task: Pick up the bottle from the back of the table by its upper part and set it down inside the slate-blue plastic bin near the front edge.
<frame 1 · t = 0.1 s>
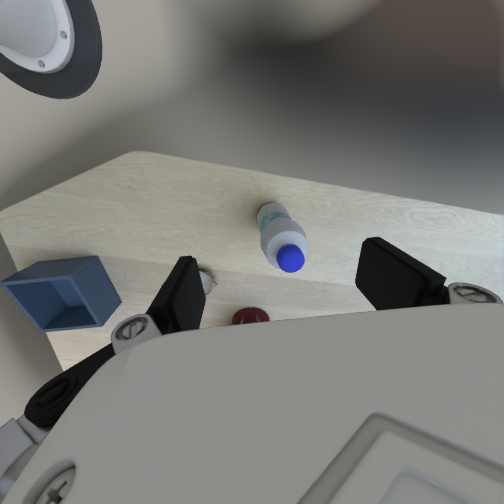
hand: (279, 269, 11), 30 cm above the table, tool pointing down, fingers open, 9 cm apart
seashell: (200, 278, 47), on the table
bottle: (271, 215, 41), on the table
lantern: (251, 320, 55), on the table
bin: (82, 283, 46), on the table
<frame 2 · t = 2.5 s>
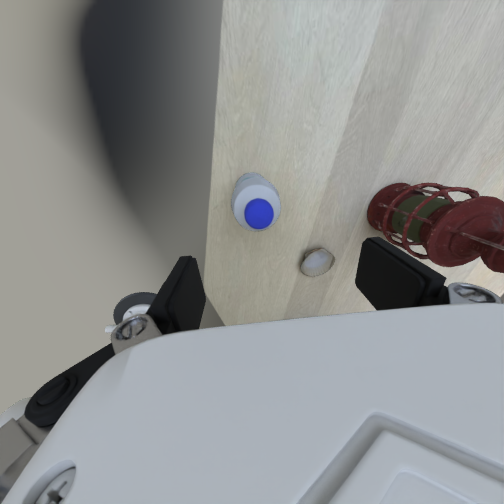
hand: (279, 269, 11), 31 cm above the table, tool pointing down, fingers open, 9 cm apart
seashell: (314, 259, 47), on the table
bottle: (251, 188, 39), on the table
lantern: (390, 207, 42), on the table
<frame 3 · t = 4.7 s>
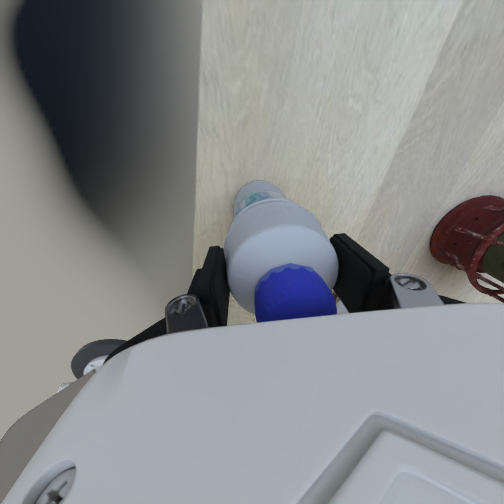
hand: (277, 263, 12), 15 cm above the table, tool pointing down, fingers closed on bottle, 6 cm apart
seashell: (346, 299, 33), on the table
bottle: (258, 204, 25), on the table, touching gripper
lantern: (465, 231, 28), on the table
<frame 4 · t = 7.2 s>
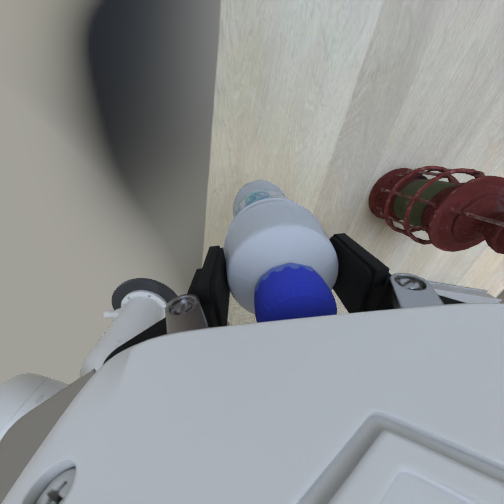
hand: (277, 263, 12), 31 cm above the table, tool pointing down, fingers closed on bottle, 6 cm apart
book: (429, 308, 57), on the table
bottle: (258, 203, 25), point 16 cm above the table, touching gripper
lantern: (393, 194, 41), on the table
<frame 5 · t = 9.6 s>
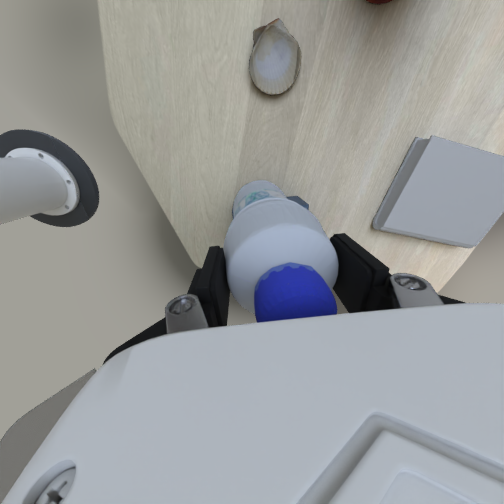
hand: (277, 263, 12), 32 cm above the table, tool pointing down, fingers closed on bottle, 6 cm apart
seashell: (273, 65, 31), on the table
book: (437, 197, 43), on the table
bottle: (258, 203, 25), point 16 cm above the table, touching gripper
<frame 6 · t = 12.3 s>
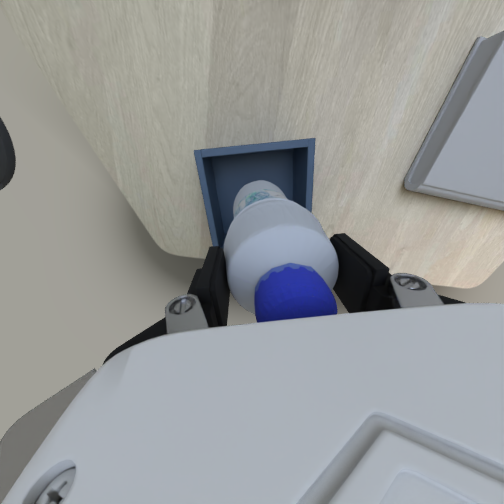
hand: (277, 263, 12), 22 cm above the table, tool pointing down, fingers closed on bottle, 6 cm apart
book: (498, 142, 30), on the table
bottle: (258, 203, 25), point 7 cm above the table, touching gripper
bin: (255, 193, 31), on the table
when the fingers open (16 cm above the table, at t = 14.4 s): bottle stays where it is, resting on bin.
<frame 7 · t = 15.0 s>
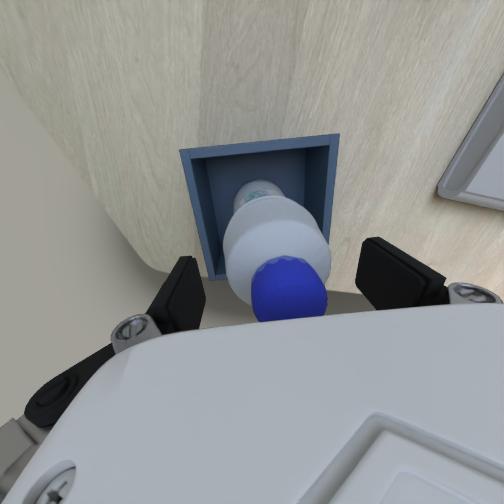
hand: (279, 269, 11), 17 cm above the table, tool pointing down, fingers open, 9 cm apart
bottle: (257, 202, 26), point 1 cm above the table, touching bin
bin: (258, 201, 26), on the table
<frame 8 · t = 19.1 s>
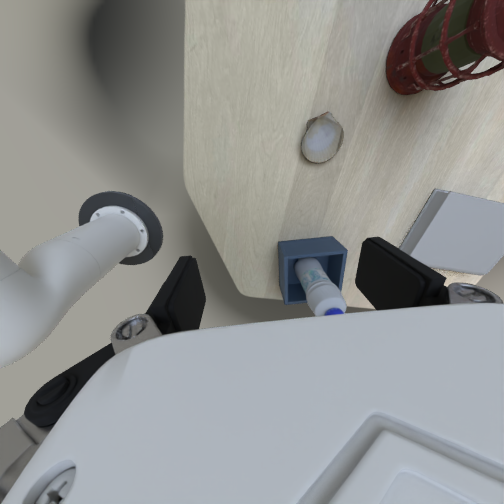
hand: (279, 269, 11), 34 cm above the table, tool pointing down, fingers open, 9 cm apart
seashell: (318, 139, 38), on the table
book: (452, 233, 49), on the table
bottle: (304, 263, 50), point 1 cm above the table, touching bin
lantern: (415, 57, 33), on the table
bin: (304, 262, 51), on the table
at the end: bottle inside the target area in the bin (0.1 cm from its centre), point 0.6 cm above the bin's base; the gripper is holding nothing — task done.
